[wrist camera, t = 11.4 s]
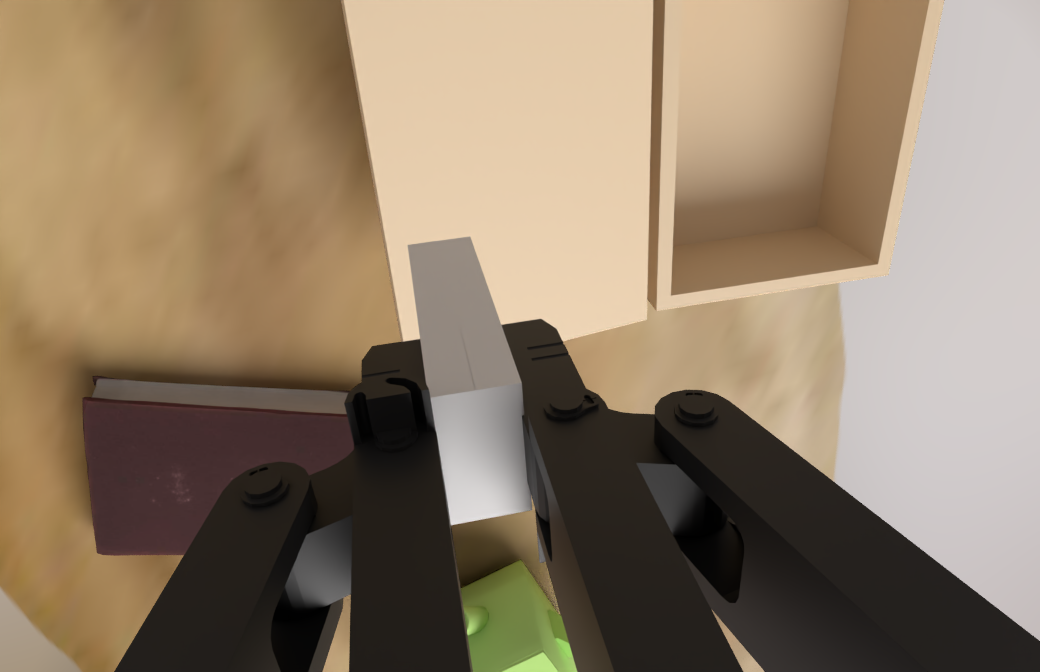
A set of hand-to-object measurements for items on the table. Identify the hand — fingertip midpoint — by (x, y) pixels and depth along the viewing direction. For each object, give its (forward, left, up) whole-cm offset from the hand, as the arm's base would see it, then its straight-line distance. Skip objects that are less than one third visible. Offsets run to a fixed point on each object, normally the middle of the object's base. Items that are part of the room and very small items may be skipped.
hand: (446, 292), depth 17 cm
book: (+22, -13, -25) cm, 36 cm away
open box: (0, +19, -24) cm, 31 cm away
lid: (0, +5, -16) cm, 17 cm away
